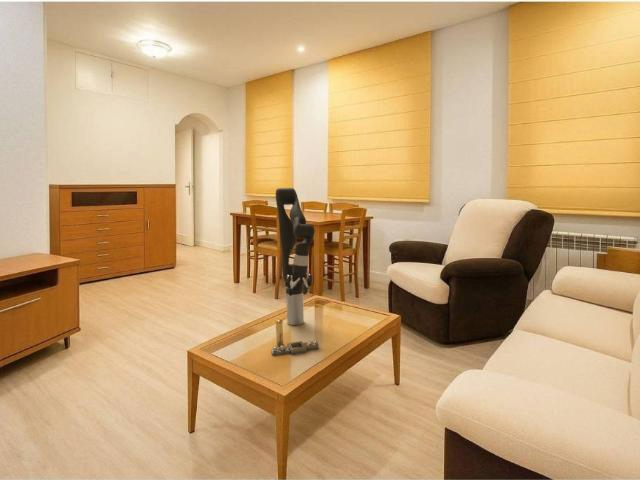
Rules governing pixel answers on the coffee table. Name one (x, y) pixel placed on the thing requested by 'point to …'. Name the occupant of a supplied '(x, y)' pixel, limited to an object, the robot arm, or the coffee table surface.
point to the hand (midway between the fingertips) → (297, 294)
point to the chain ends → (295, 348)
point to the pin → (279, 332)
